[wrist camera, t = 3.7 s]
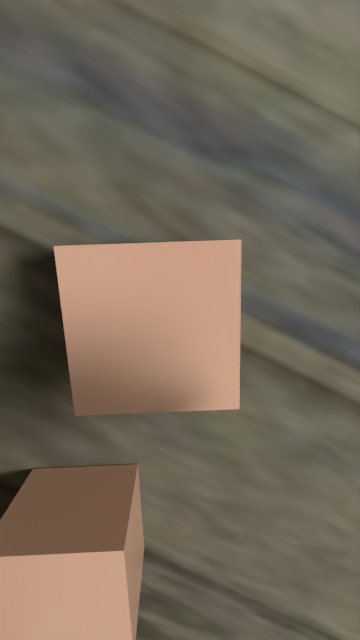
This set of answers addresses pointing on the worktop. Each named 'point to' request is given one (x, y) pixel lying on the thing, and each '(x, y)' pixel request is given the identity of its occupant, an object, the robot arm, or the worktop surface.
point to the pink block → (152, 325)
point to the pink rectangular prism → (72, 555)
